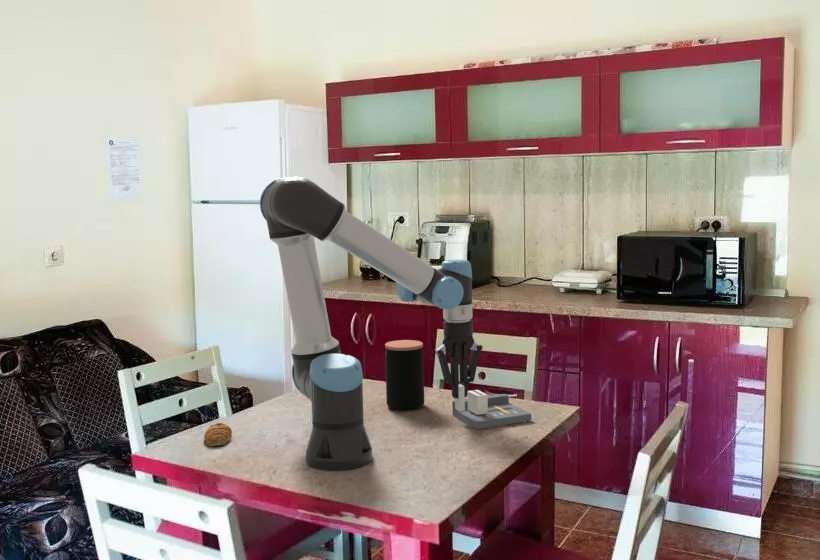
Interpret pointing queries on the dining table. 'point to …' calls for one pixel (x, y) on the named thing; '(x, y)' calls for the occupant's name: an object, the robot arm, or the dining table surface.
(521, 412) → the grey slider base
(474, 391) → the fader
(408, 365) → the coffee jar
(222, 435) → the pastry
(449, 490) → the dining table surface
